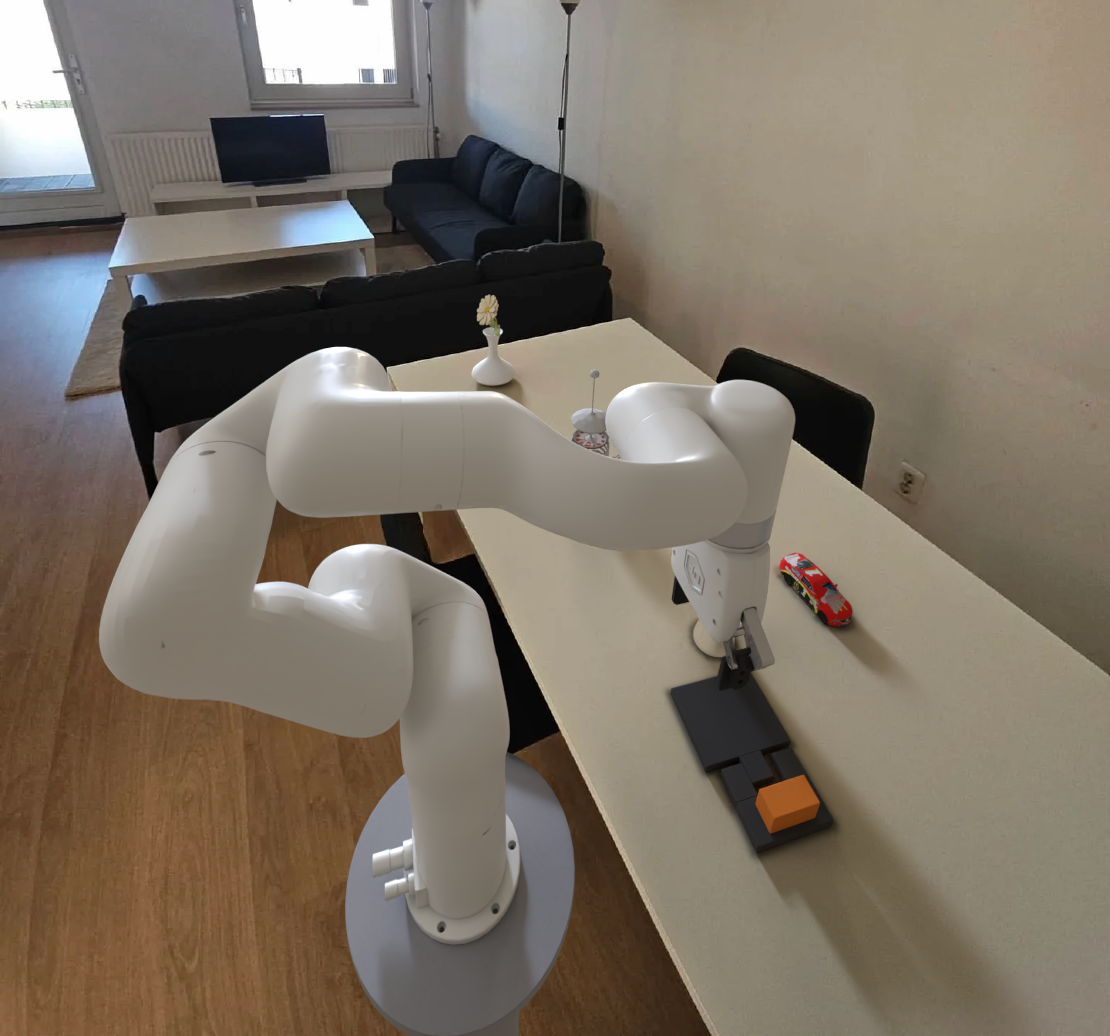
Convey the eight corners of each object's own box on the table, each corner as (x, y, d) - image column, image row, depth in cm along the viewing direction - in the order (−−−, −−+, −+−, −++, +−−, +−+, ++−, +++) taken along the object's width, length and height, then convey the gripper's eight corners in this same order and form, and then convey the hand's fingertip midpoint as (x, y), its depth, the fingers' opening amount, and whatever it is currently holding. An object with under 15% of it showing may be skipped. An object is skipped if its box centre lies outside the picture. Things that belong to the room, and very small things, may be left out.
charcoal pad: (717, 800, 72) (718, 794, 71) (670, 694, 83) (671, 688, 83) (804, 771, 75) (806, 765, 74) (746, 673, 86) (748, 667, 86)
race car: (858, 624, 94) (864, 606, 93) (831, 635, 92) (836, 616, 91) (798, 560, 105) (803, 543, 104) (773, 568, 104) (777, 551, 102)
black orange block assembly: (756, 853, 67) (762, 832, 65) (719, 775, 74) (724, 754, 73) (832, 825, 70) (839, 804, 68) (789, 752, 77) (795, 731, 75)
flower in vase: (470, 368, 163) (467, 282, 153) (512, 366, 165) (512, 281, 155) (473, 395, 151) (470, 303, 141) (518, 391, 153) (519, 301, 143)
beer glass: (687, 652, 89) (700, 577, 83) (692, 613, 95) (703, 541, 89) (736, 666, 87) (752, 591, 81) (737, 625, 93) (753, 552, 87)
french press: (573, 455, 130) (577, 353, 120) (625, 468, 127) (635, 364, 117) (558, 485, 121) (561, 377, 112) (614, 499, 118) (623, 390, 108)
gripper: (654, 457, 62) (640, 579, 69) (746, 596, 47) (716, 735, 54) (719, 446, 64) (699, 566, 71) (828, 577, 49) (789, 713, 55)
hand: (707, 639), depth 62 cm, fingers open, 9 cm apart
